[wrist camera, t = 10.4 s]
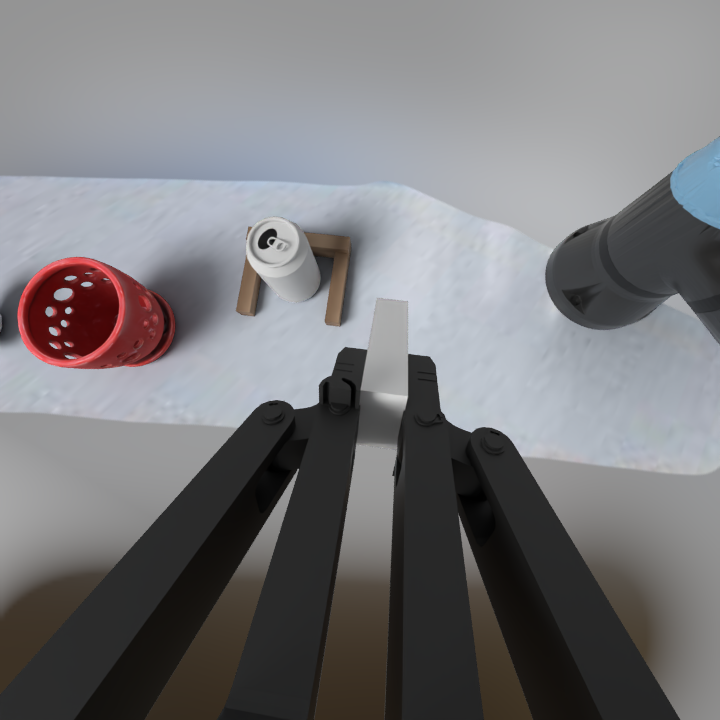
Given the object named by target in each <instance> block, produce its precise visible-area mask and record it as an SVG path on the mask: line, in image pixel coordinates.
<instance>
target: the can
mask: <svg viewBox="0 0 720 720" xmlns="http://www.w3.org/2000/svg"><path fill="white" fill-rule="evenodd" d="M246 243H247V247H246V252H247V259H248V260H249V262H250V264H251V266H252V267H253V269H254V270H255V271H256V272H257V273H258V274H259V275H260V276H261V278H262V279H263V280H264V281H265V282H266V283H267V284H268V286H269V287H270V288H271V289H272V290H273V291H274V292H275V293H276V294H277V295H278V296H279V297H280V298H281V299H283V300H285V301H287V302H293V303H297V302H303V301H305V300H307V299H309V298H311V297H312V296H313V295H314V294H315V293H316V291H317V289H318V287H319V285H320V280H321V276H320V270H319V268H318V265H317V263H316V260H315V258H314V255H313V252H312V250H311V247H310V245H309V242H308V240H307V237H306V236H305V234H304V232H303V230H302V229H301V228H300V227H299V226H298V225H297V224H296V223H293V222H291V221H289V220H287V219H284V218H282V217H269V218H265V219H263V220H261V221H259V222H257V223H256V224H255V225H254V226H253V227H252V229H251V230H250V232H249V234H248V237H247V242H246Z"/></svg>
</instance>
